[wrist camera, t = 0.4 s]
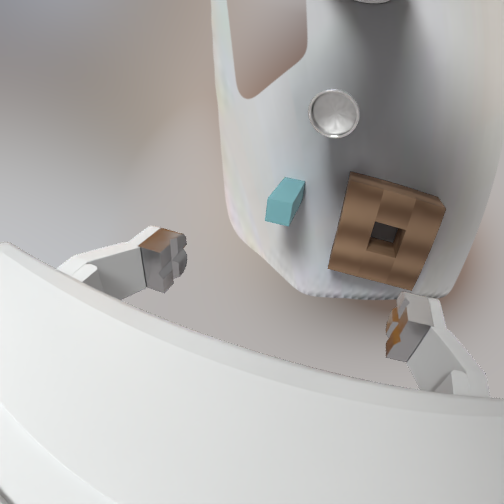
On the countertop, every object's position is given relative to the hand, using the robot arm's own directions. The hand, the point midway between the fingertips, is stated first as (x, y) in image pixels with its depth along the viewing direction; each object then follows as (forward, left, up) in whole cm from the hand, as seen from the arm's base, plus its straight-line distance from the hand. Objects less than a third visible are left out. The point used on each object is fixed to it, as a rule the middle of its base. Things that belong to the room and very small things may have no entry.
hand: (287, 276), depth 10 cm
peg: (+13, -7, -45) cm, 48 cm away
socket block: (+16, +12, -45) cm, 49 cm away
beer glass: (-4, -1, -45) cm, 45 cm away
